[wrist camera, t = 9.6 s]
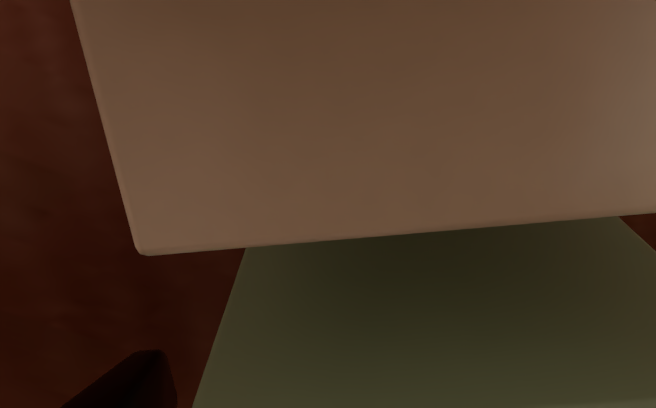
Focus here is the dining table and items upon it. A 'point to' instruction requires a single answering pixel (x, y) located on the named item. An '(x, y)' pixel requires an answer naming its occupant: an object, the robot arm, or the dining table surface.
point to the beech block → (370, 115)
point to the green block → (442, 321)
